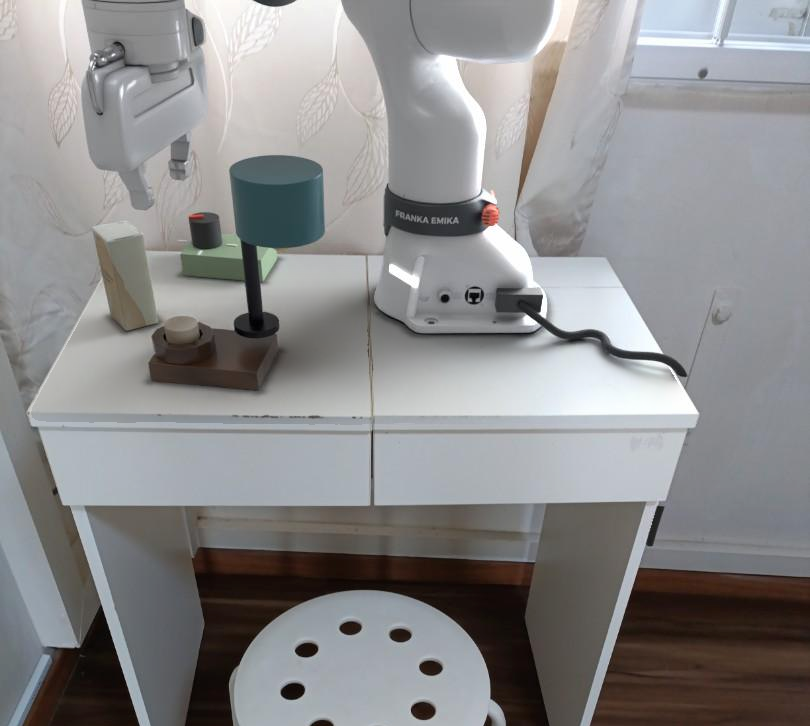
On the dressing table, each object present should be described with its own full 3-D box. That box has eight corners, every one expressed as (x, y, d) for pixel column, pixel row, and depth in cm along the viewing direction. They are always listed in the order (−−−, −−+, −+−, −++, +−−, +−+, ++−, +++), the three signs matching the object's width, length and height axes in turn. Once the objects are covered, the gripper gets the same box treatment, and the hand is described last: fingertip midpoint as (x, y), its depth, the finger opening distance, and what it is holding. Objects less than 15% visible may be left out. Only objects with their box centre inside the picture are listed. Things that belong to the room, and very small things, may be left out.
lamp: (335, 315, 91) (330, 158, 80) (319, 353, 85) (312, 187, 73) (246, 308, 92) (229, 151, 81) (223, 345, 85) (201, 179, 74)
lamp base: (278, 350, 93) (275, 319, 90) (258, 390, 86) (255, 357, 84) (176, 341, 94) (171, 310, 91) (149, 380, 87) (142, 347, 84)
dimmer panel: (277, 258, 113) (275, 236, 111) (262, 282, 107) (260, 259, 105) (191, 251, 114) (187, 229, 112) (171, 275, 108) (167, 251, 106)
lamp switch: (204, 331, 88) (202, 317, 87) (194, 347, 86) (191, 332, 85) (172, 329, 89) (170, 314, 87) (161, 344, 86) (158, 329, 85)
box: (110, 315, 98) (89, 225, 91) (143, 307, 100) (125, 218, 93) (126, 332, 95) (106, 240, 88) (160, 323, 97) (143, 232, 90)
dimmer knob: (219, 236, 110) (216, 208, 108) (224, 247, 107) (221, 219, 105) (190, 239, 109) (186, 211, 107) (194, 250, 106) (190, 221, 104)
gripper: (121, 58, 64) (150, 231, 73) (211, 19, 79) (226, 166, 89) (48, 52, 65) (86, 224, 74) (151, 14, 80) (172, 161, 89)
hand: (163, 192), depth 81 cm, fingers open, 8 cm apart
